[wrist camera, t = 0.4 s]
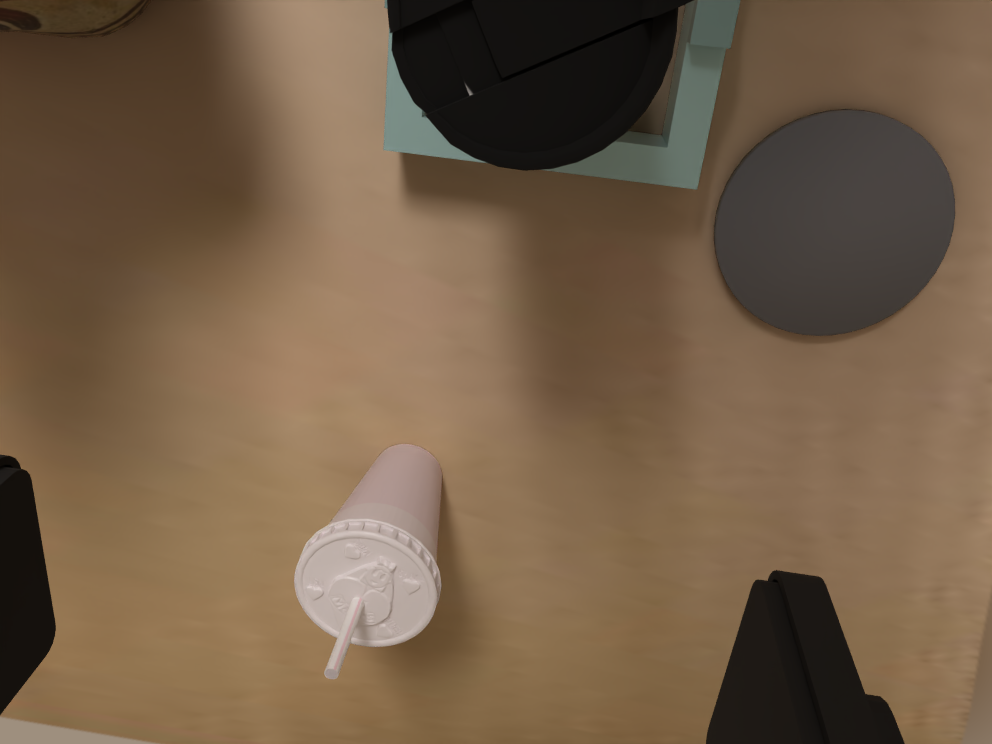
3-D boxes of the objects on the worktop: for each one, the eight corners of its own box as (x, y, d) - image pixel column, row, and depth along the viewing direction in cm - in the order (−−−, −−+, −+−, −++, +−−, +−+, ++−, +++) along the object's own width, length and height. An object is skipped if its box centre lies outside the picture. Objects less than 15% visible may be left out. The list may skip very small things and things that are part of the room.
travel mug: (664, 39, 36) (738, 108, 18) (516, 100, 37) (445, 222, 19) (614, -121, 33) (640, -230, 15) (459, -48, 35) (319, -69, 17)
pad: (741, 95, 36) (744, 97, 36) (983, 124, 36) (989, 127, 35) (693, 315, 40) (695, 320, 40) (909, 344, 40) (913, 349, 39)
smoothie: (328, 485, 47) (230, 675, 34) (385, 398, 44) (302, 570, 31) (428, 543, 48) (369, 749, 35) (490, 462, 45) (451, 654, 32)
